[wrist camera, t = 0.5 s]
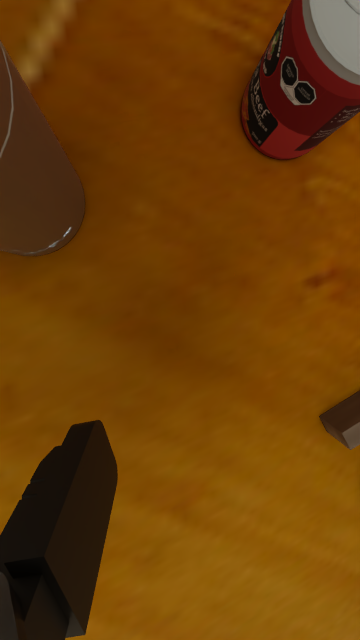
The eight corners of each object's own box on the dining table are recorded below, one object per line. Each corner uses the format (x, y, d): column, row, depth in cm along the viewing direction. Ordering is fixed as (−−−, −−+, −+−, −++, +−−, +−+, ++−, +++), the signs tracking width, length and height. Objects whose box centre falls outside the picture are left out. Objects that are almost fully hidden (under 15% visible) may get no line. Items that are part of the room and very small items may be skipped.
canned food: (245, 60, 25) (324, -109, 14) (329, 83, 26) (459, -57, 16) (231, 152, 26) (295, 56, 15) (312, 170, 27) (426, 94, 16)
